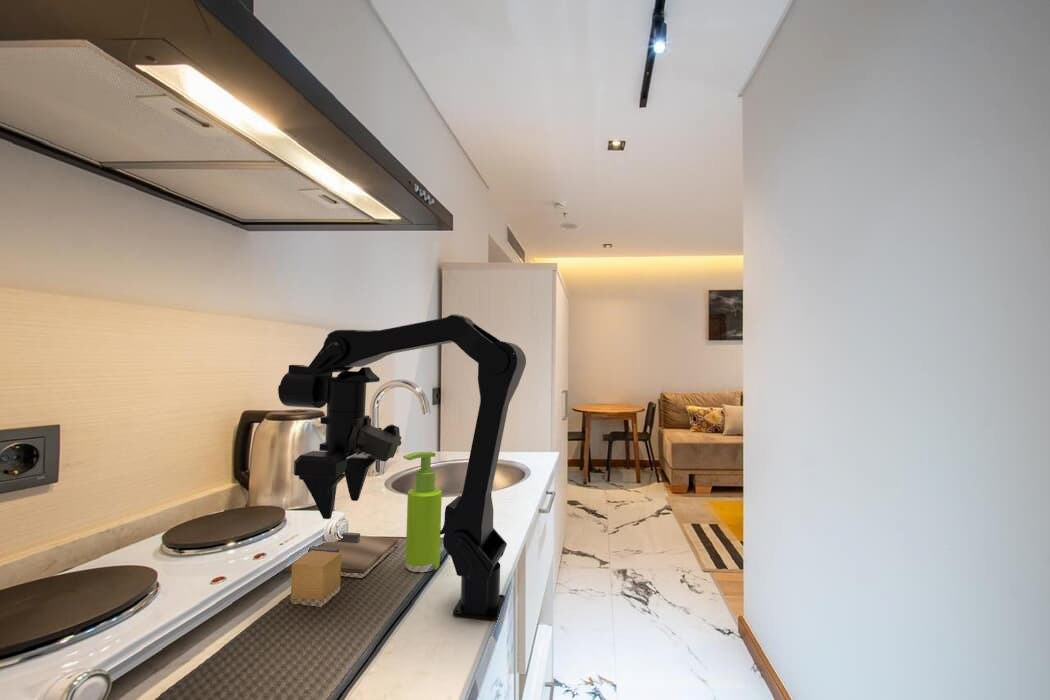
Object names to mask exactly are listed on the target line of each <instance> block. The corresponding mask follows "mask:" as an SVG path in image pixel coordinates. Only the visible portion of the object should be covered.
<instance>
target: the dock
mask: <svg viewBox="0 0 1050 700" xmlns="http://www.w3.org/2000/svg"><path fill="white" fill-rule="evenodd" d="M345 532H346V533H343V534H342V536H343V538H342V539H341V540H338V541H335V542H326V543H323V544H321V545H319V546H317V547H316V546H312V547H310V548H309V550H308V552H310V551H311V550H314V551H325V552H336V553H341V572H343V573H344V572H345V573H359V574H360V573H361V574H364V573H365V572H366V571H367V570H368V569H370V568H371V567H372V566H373V565H374V564H375V563H376V562H377V561H378V560H379V559H380V558H381V557H382V556H383V555H384V554H385V553H387V552H388V551H389V550H390V549H391V548H392V547H394V546H395V545H396V544H397V543H398V544H399V538H391V537H381V536H370V535H368V536H367V535H361V533H358V532H348V531H345ZM284 570H285V572H289V573H291V572H292V565H290V566H289V567H288V568H287V569H286V568H285V569H284Z"/></svg>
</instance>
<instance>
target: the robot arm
mask: <svg viewBox="0 0 1050 700" xmlns="http://www.w3.org/2000/svg"><path fill="white" fill-rule="evenodd" d="M451 343H454V344H455V345H457V347H459V348H460V349H461V350H462V351H463V353H464V354H466V355H467V356H468V357H470V358H471V359H472V360H474V361H475V362H476V363H477V382H478V384H477V385H478V391H479V396H480V397H479V407H478V412H477V417H476V423H475V426H474V431H473V432H474V433H473V438H472V442H471V447H470V453H469V458H468V463H467V466H466V467H467V468H466V473H465V477H464V484H463V487H462V493H461V494H460V495H458V496H457V497H455V498H454V499H453V500H452V501H451V502H449V504H447V505H446V506H445V510H444V520H443V521H444V523H443V526H442V528H441V531H440V536H441V535H443V537H442V544H443V549H444V550H446V552H447V554H448V556H450V557H451V560H452V564H453V567H454V570H455V573H456V575H457V577H458V576H459V577H461V580H460V583H461V584H460V598H459V600H458V602H457V604H456V606H455V607H454V608H453V611H452V615H453V616H454V617H460V618H462V617H463V618H471V619H472V618H473V619H482V620H489V621H496V620H498V618H499V615H500V613H501V611H502V609H503V606H504V603H505V601H506V596H505V594H501V593H500V587H501V564H500V559H501V558H503V555H504V554H505V550H506V547H507V545H508V543H507V542H506V541H505V539H504V538H503V536H501V535H500V534H499V533H498V532H497V530H496V529H495V527H494V505H493V497H492V492H493V487H494V486H493V485H494V481H495V476H496V471H497V465H498V460H499V455H500V452H501V451H500V450H501V445H502V440H503V435H504V429H505V425H506V421H507V416H508V411H509V405H510V402H511V400H512V399H513V396H514V395H515V392H516V390H517V389H518V387H519V384H520V381H521V379H522V377H523V374H524V372H525V368H526V367H527V366H526V364H527V358H526V353H524V351H523V349H522V348H521V347H520V346H519V345H517V344H515V343H512V342H507V341H502V340H500V339H498V338H497V337H496V336H494V335H493V334H491V333H489V332H488V331H486V330H485V329H483V328H482V327H480V326H479V325H477V324H476V323H474V321H473V320H472V319H471V318H469V317H467V316H464V315H460V314H458V313H457V314H456V313H454V314H453V313H452V314H451V315H448V316H446V317H441V318H437V319H431V320H430V319H429V320H426V321H420V322H415V323H411V324H410V323H409V324H406V325H405V324H404V325H399V326H394V327H389V328H384V329H380V330H378V329H377V330H369V329H368V330H367V329H336V330H334V331H330V332H329V333H328V334H327V336H326V338H325V340H324V342H323V346H322V347H321V349H320V350H319V351H318V353H317V354H316V356H315V357H314V358H313V359H312V361H311V362H310V363H309V365H308V366H307V365H304V364H289V365H288V372H286V373H285V374H284V376H282V378H281V381H280V383H279V385H278V389H277V395H278V399H279V401H280V403H281V404H282V405H284V406H285V407H293V408H294V407H295V408H311V409H322V408H324V407H325V406H326V415H325V416H321V417H320V424H321V425H325V440H324V441H325V442H322V443H320V444H319V450H311V451H309V452H306V453H303V454H301V455H299V456H298V457H297V458H296V459H294V461H293V475H294V476H296V477H298V479H299V480H302V481H303V483H304V484H305V486H306V488H307V489H308V491H309V493H310V495H311V497H312V499H313V501H314V502H315V505H316V507H317V509H318V512H319V514H320V515H321V518H322V519H323V520H331V518H332V515H333V511H334V508H335V507H334V506H335V505H334V504H335V500H336V499H335V498H336V495H337V494H336V493H337V488H338V484H339V483H340V482H342V480H343V479H344V478H345V482H346V485H347V489H348V494H349V498H350V501H351V502H358V501H359V499H360V497H361V492H362V491H363V487H364V484H365V480H366V478H367V476H368V472H369V470H370V468H371V466H372V465H374V464H375V463H376V462H377V461H381V462H387V461H389V459H391V458H393V459H394V457H395V455H396V452H397V450H398V447H400V446H401V445H402V436H401V435H400V434H401V433H400V426H397V425H394V424H389V425H386V426H385V427H384V428H382V427H377V426H376V427H375V426H373V425H372V417H370V415H366V401H367V400H366V399H367V398H366V397H367V384H368V383H379V382H380V379H381V378H380V377H379V376H378V375H377V373H374V372H373V371H372V369H371V367H369V366H368V365H370V364H372V363H375V362H378V361H380V360H382V359H384V358H385V357H387V356H390V355H392V354H396V353H402V352H408V351H414V350H419V349H424V348H430V347H431V348H432V347H434V346H439V345H441V346H442V345H447V344H451ZM353 368H360V369H359V370H358V371H357V370H355V371H354V370H352V369H353ZM333 373H338V374H337V376H333Z"/></svg>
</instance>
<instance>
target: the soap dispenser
mask: <svg viewBox="0 0 1050 700" xmlns="http://www.w3.org/2000/svg"><path fill="white" fill-rule="evenodd" d="M433 457H436V453H435V452H434V451H433V452H432V451H417V452H416V451H415V452H411V453H408V454H406V455H403V458H404V459H405V460H407V461H412V460H415V459H419V458H420V468H419V469H418V470H416V471H415V485H414V488H412V489H411V488H410V489H409V490H408V491H407V508H406V509H407V511H406V538H405V539H406V544H405V564H406V563H407V564H409V565H412V566H425V565H429V564H434V565H435V566H436V567H435V570H434V571H437V570H438V569H439V567H440V562H441V560H440V559H441V557H440V556H441V535H440V531H441V530H442V528H441V527H442V524H441V523H442V498H443V497H442V494H443V491H442V490H441V489H440V488H438V487H435V486H436V470H434V469H432V468H431V462H432V458H433Z"/></svg>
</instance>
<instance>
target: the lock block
mask: <svg viewBox="0 0 1050 700" xmlns="http://www.w3.org/2000/svg"><path fill="white" fill-rule="evenodd" d="M290 573H291V574H290V575H291V579H290V600H291V599H310V600H312V599H315V600H323V599H324V598H325V597H326V596H328V595H329V594H330V593H331V592H332V591H334V590H335V589H336V588H337V587H339V586H340V587H341V578H342V577H341V553H336V552H325V551H314V550H311V551H310V552H308V553H307V554H305V555H304V556H302V557H301V558H299V559H298V560H296V561H295V562H293V563H292V572H290Z"/></svg>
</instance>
